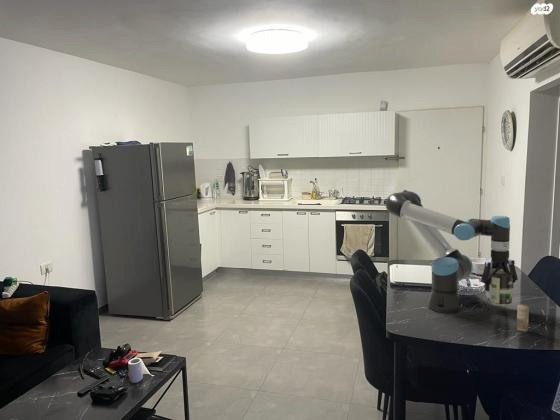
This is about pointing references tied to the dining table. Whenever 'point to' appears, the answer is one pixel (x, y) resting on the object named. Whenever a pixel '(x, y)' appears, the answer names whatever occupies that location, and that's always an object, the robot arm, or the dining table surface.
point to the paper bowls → (479, 265)
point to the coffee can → (501, 289)
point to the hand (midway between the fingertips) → (498, 296)
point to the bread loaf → (522, 317)
